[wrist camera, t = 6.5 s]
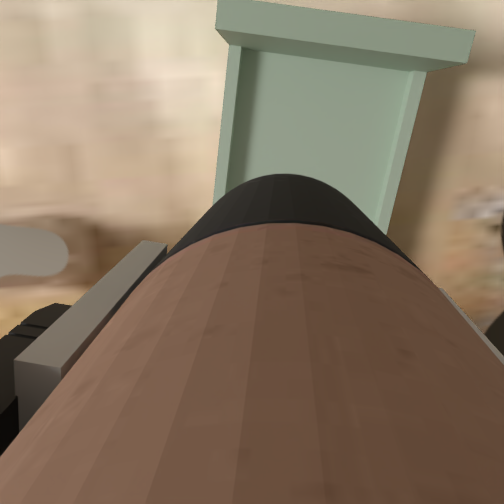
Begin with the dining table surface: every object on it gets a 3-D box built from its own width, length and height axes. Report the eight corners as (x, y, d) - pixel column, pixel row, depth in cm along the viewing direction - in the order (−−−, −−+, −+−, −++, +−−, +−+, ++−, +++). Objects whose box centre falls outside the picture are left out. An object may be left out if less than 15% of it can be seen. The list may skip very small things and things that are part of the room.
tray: (236, 26, 30) (218, -5, 21) (420, 51, 30) (476, 30, 21) (210, 268, 36) (188, 319, 28) (362, 291, 36) (387, 349, 27)
